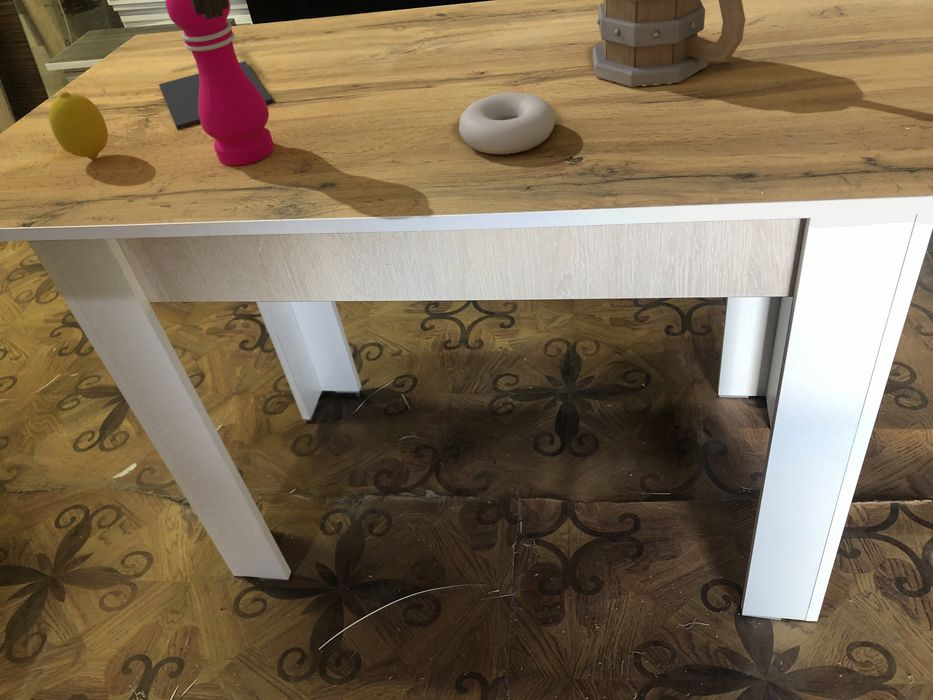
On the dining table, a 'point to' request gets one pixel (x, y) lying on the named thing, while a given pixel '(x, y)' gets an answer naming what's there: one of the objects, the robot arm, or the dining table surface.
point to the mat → (196, 96)
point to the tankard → (661, 40)
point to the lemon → (78, 125)
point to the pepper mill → (224, 88)
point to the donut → (506, 123)
